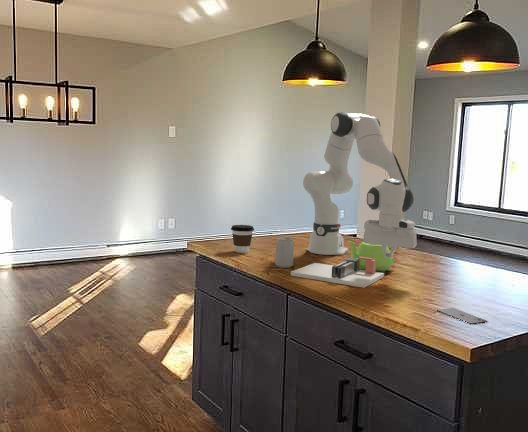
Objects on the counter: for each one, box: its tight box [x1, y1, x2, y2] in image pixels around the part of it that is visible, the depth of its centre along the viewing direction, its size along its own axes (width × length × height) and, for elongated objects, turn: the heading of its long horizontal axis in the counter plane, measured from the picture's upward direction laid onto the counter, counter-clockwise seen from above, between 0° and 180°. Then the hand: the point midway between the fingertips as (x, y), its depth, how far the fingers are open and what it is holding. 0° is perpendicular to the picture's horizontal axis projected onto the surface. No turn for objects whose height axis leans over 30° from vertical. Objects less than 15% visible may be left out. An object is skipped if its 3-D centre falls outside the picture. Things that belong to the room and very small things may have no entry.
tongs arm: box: [332, 260, 348, 277], centre depth 218 cm, size 14×2×4 cm, turn 152°
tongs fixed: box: [337, 256, 360, 278], centre depth 219 cm, size 18×5×5 cm, turn 150°
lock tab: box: [358, 257, 377, 274], centre depth 223 cm, size 3×6×6 cm, turn 60°
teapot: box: [347, 240, 396, 273], centre depth 235 cm, size 22×15×13 cm
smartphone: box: [436, 307, 489, 325], centre depth 173 cm, size 7×1×15 cm
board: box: [290, 262, 385, 289], centre depth 221 cm, size 22×30×2 cm
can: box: [274, 236, 295, 269], centre depth 235 cm, size 8×8×12 cm
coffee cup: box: [230, 224, 255, 254], centre depth 264 cm, size 11×11×12 cm
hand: (388, 257), depth 218 cm, fingers closed
